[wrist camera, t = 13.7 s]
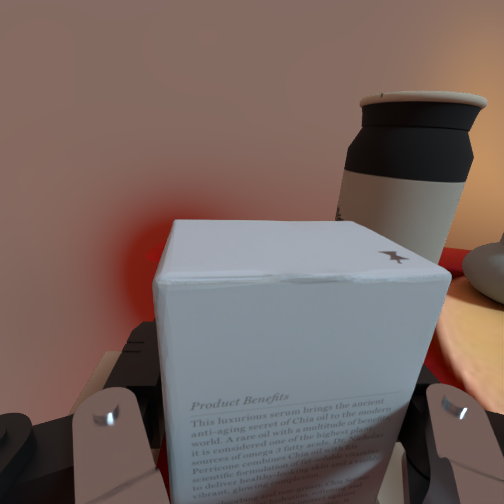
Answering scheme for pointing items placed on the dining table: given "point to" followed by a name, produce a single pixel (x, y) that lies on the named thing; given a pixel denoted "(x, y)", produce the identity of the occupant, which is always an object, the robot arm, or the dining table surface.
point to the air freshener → (487, 269)
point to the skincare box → (288, 357)
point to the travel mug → (409, 166)
